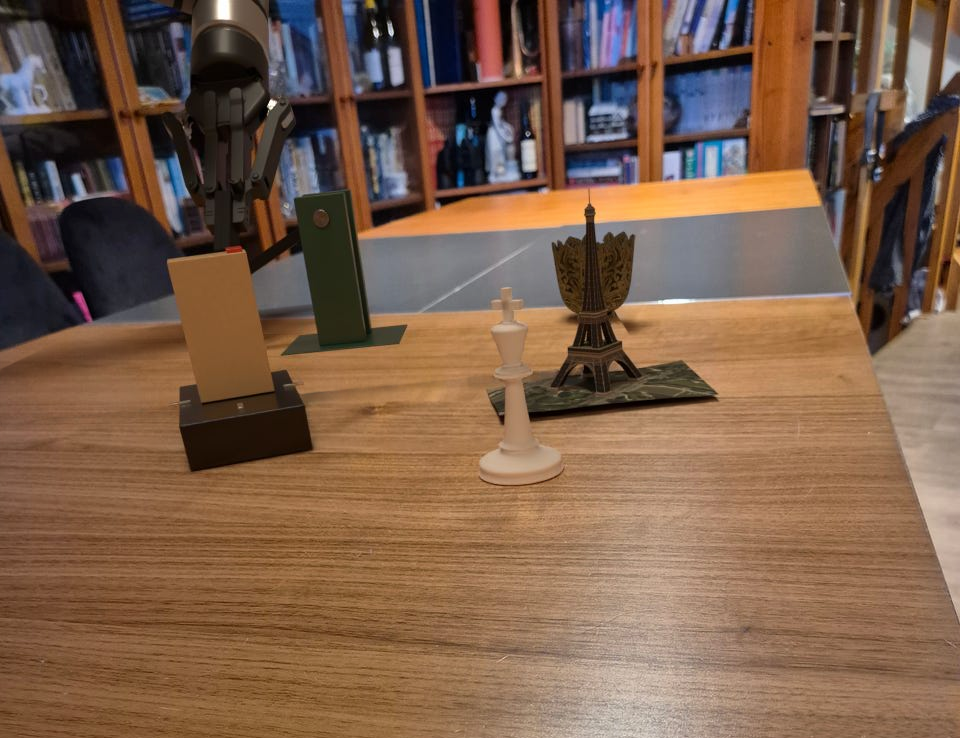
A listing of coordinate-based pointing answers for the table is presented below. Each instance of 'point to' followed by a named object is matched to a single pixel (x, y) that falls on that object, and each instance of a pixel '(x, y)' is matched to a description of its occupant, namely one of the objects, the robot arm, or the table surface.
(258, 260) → the lever
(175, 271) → the tan standing plaque
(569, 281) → the cup
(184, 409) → the base
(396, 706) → the table surface
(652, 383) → the eiffel tower figurine
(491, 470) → the chess piece
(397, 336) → the bracket
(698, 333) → the table surface
